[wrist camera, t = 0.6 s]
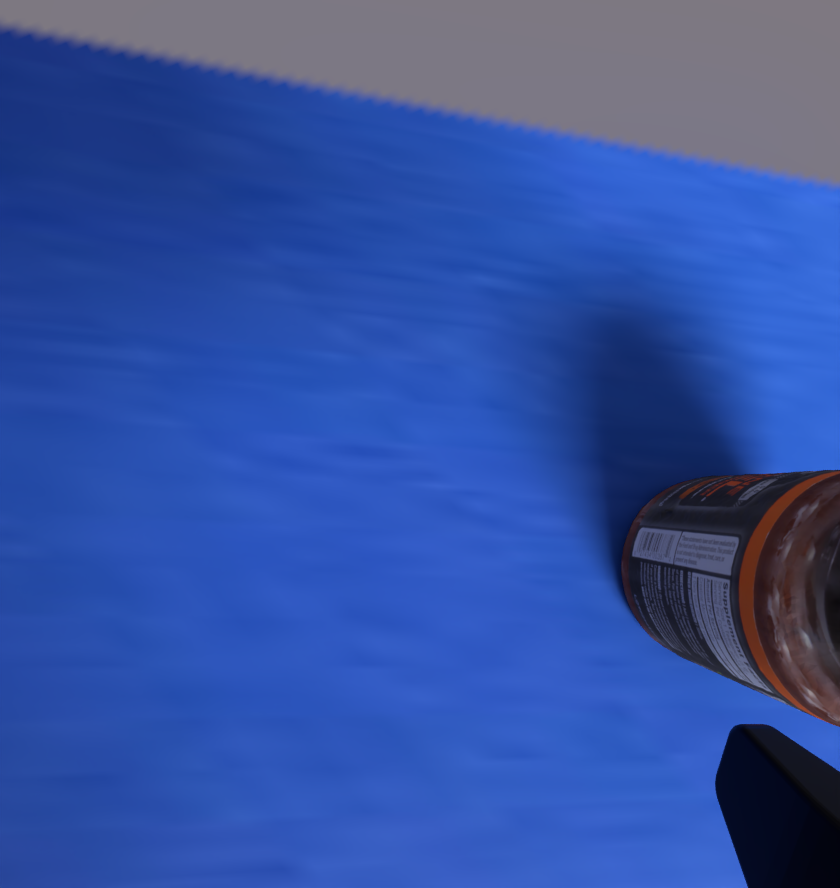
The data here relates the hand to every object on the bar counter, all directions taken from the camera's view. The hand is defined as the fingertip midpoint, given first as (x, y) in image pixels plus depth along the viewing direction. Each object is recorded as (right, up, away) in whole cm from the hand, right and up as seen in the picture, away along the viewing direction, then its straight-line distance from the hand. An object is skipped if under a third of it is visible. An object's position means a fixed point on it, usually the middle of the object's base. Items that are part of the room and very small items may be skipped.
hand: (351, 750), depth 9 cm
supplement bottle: (+10, -1, +17) cm, 20 cm away
